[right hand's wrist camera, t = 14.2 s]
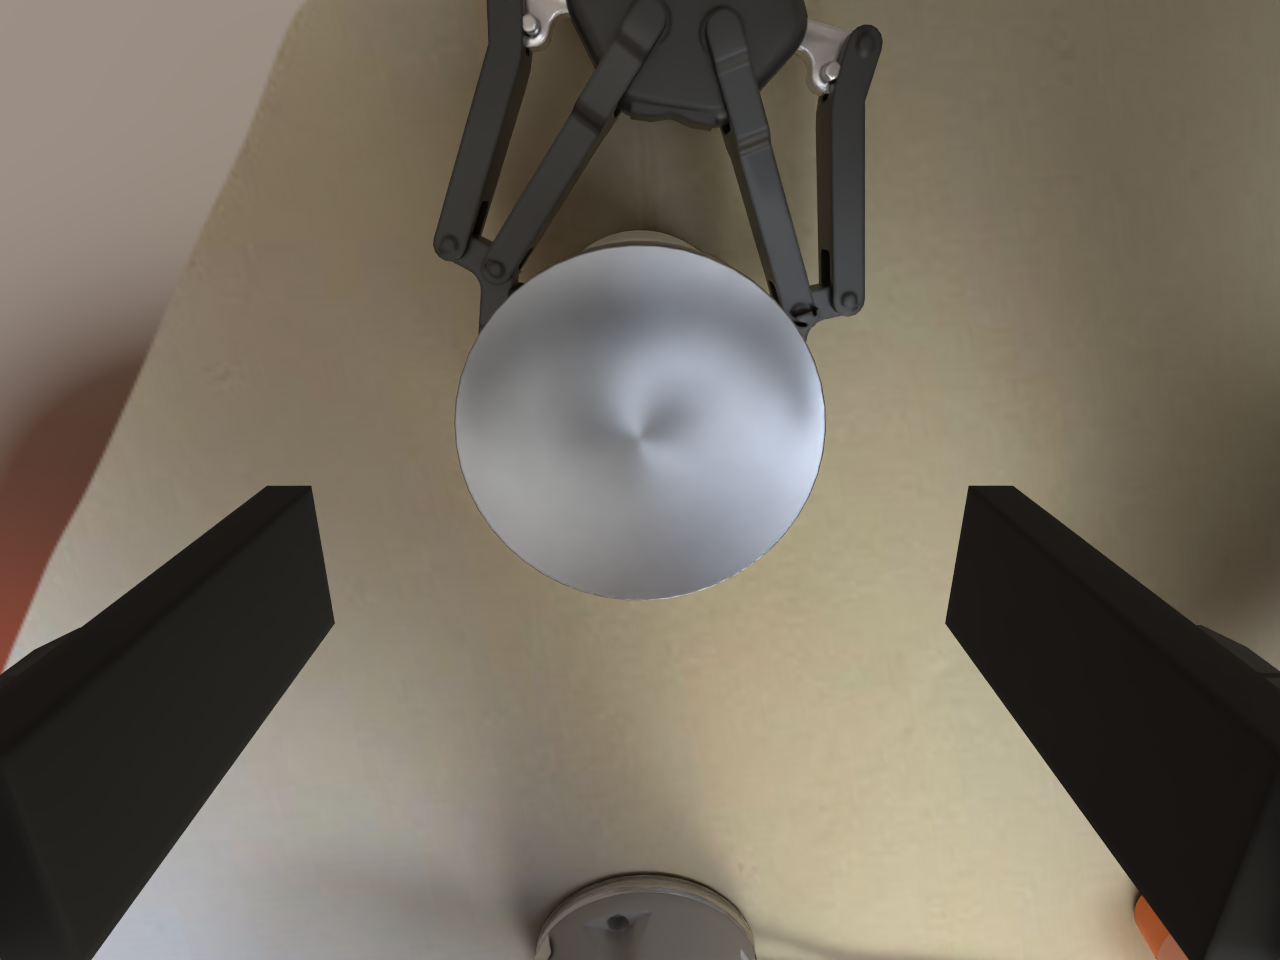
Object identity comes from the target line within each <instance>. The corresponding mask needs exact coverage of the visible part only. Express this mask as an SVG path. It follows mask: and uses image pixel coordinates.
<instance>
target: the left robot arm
mask: <svg viewBox="0 0 1280 960" xmlns="http://www.w3.org/2000/svg"><path fill="white" fill-rule="evenodd" d="M487 18H488V43H489V44H488V48H487V51H486V55H485V58H484V62H483V65H482V69H481V72H480V76H479V80H478V83H477V87H476V90H475V94H474V97H473V101H472V104H471V108H470V112H469V115H468V119H467V122H466V126H465V129H464V133H463V136H462V140H461V144H460V147H459V151H458V154H457V158H456V161H455V165H454V168H453V172H452V176H451V179H450V183H449V186H448V190H447V193H446V197H445V200H444V204H443V208H442V211H441V215H440V218H439V222H438V225H437V229H436V232H435V236H434V242H433V246H434V249H435V252H436V253H437V255H438V256H439V257H440V258H442V259H443V260H446V261H452V262H454V263H456V264H458V265H460V266H461V267H463V268H465V269H467V270H469V271H470V272H472V273H473V274H474V275H475V276H476V277H477V279H478V280H479V283H480V286H481V301H480V319H479V333H480V331H481V330H482V329H483V327H484V326H485V324H486V323H487V322H488V320H489V319H490V317H491V316H492V315H493V313H494V312H495V311H496V310H497V309H498V308H499V307H500V305H501V304H502V303H503V302H504V301H505V300H506V299H507V298H508V297H509V296H510V295H511V294H512V293H513V292H514V291H516V290H517V289H518V288H519V287H521V286H522V285H523V284H524V283H520V282H519V283H518V276H519V274H520V273H521V272H522V271H521V269H522V267H523V266H524V264H525V263H526V261H527V259H528V258H529V256H530V255H531V253H532V252H533V250H534V248H535V247H536V245H537V244H538V242H539V240H540V239H541V237H542V236H543V234H544V232H545V231H546V229H547V228H548V226H549V224H550V223H551V221H552V220H553V218H554V216H555V215H556V213H557V212H558V210H559V208H560V207H561V205H562V204H563V202H564V201H565V199H566V197H567V196H568V194H569V193H570V191H571V189H572V188H573V186H574V185H575V183H576V181H577V180H578V178H579V177H580V175H581V173H582V172H583V170H584V169H585V167H586V165H587V164H588V162H589V161H590V159H591V157H592V156H593V154H594V153H595V151H596V150H597V148H598V146H599V145H600V143H601V142H602V140H603V139H604V137H605V136H606V135H607V134H608V132H609V131H610V129H611V128H612V126H613V124H614V123H615V121H616V120H617V118H618V116H619V115H620V113H621V112H623V113H625V114H626V115H628V116H630V118H631V119H634V120H641V121H648V122H653V121H660V120H667V119H673V120H675V121H677V122H679V123H681V124H683V125H686V126H688V127H690V128H694V129H701V130H708V131H711V130H712V129H713V128H718V127H720V129H721V132H722V135H723V139H724V142H725V146H726V149H727V151H728V154H729V156H730V158H731V161H732V164H733V167H734V171H735V174H736V178H737V181H738V184H739V188H740V191H741V195H742V198H743V202H744V205H745V208H746V212H747V215H748V219H749V222H750V226H751V229H752V232H753V236H754V239H755V243H756V246H757V250H758V253H759V256H760V260H761V263H762V267H763V270H764V274H765V277H766V280H767V284H768V287H769V291H770V294H771V297H773V298H774V299H775V300H776V302H777V303H778V304H779V305H780V306H781V307H782V308H783V310H784V311H785V312H786V313H787V314H788V315H789V316H790V318H791V319H792V321H793V322H794V324H795V325H796V327H797V328H798V330H799V331H800V333H801V334H802V336H803V338H804V339H805V341H806V339H807V335H808V332H809V330H810V329H811V327H813V326H814V325H815V324H816V323H817V322H819V321H821V320H824V319H828V318H833V317H837V316H842V315H843V316H852V315H855V314H856V313H858V312H859V311H860V310H861V308H862V307H863V305H864V300H865V100H866V96H867V93H868V90H869V87H870V84H871V81H872V78H873V74H874V71H875V68H876V65H877V62H878V59H879V55H880V52H881V49H882V42H883V41H882V37H881V33H880V32H879V31H878V29H877V28H875V27H874V26H872V25H862V26H860V27H857V28H856V29H855V30H854V31H849V30H846V29H842V28H839V27H835V26H832V25H829V24H825V23H822V22H818V21H815V20H811V19H808V17H807V10H806V7H805V4H804V0H487ZM565 19H571V20H572V22H573V24H574V26H575V28H576V31H577V33H578V35H579V37H580V39H581V41H582V43H583V45H584V47H585V49H586V51H587V53H588V55H589V57H590V59H591V61H592V63H593V65H594V67H595V71H594V73H593V74H592V76H591V78H590V79H589V81H588V83H587V84H586V86H585V88H584V89H583V91H582V93H581V94H580V96H579V98H578V99H577V101H576V103H575V105H574V108H573V110H572V112H571V114H570V116H569V118H568V119H567V121H566V123H565V124H564V126H563V128H562V129H561V131H560V133H559V134H558V136H557V137H556V139H555V141H554V142H553V144H552V146H551V147H550V149H549V151H548V152H547V154H546V156H545V157H544V159H543V161H542V162H541V164H540V166H539V167H538V169H537V170H536V172H535V174H534V175H533V177H532V179H531V180H530V182H529V184H528V185H527V187H526V189H525V190H524V192H523V194H522V195H521V197H520V198H519V200H518V202H517V203H516V205H515V207H514V208H513V210H512V212H511V213H510V215H509V217H508V218H507V220H506V222H505V223H504V225H503V227H502V228H501V230H500V231H499V233H498V235H497V236H496V238H495V240H494V241H493V242H492V241H490V240H488V239H486V238H484V237H482V236H481V235H482V231H483V228H484V225H485V222H486V218H487V215H488V212H489V208H490V205H491V202H492V198H493V195H494V192H495V188H496V185H497V182H498V179H499V175H500V172H501V169H502V165H503V162H504V159H505V155H506V152H507V149H508V146H509V142H510V139H511V136H512V132H513V129H514V126H515V122H516V119H517V116H518V112H519V109H520V106H521V103H522V99H523V96H524V93H525V89H526V86H527V82H528V78H529V74H530V70H531V62H532V52H539V51H542V50H544V49H545V48H546V47H547V46H548V45H549V43H550V41H551V37H552V33H553V30H554V28H555V26H556V25H557V24H558V23H559V22H560V21H562V20H565ZM793 54H795V55H797V56H799V57H800V58H801V59H802V60H803V61H804V63H805V65H806V69H807V74H806V82H807V86H808V88H809V90H810V91H811V92H812V93H813V94H815V95H818V96H819V99H818V105H817V112H816V161H817V209H818V257H819V284H815V285H811V286H810V285H809V282H808V278H807V274H806V271H805V267H804V263H803V260H802V256H801V252H800V249H799V245H798V241H797V238H796V234H795V230H794V227H793V223H792V219H791V216H790V212H789V208H788V205H787V201H786V197H785V194H784V190H783V186H782V183H781V179H780V175H779V172H778V168H777V164H776V161H775V157H774V153H773V150H772V146H771V140H770V129H769V125H768V121H767V118H766V114H765V110H764V107H763V103H762V99H761V96H760V91H761V90H762V89H763V88H764V86H765V85H766V84H767V83H768V82H769V81H770V80H771V79H772V78H773V76H774V75H775V74H776V73H777V72H778V71H779V70H780V69H781V68H782V66H783V65H784V64H785V63H786V62H787V61H788V60H789V59H790V58H791V56H792V55H793Z"/></svg>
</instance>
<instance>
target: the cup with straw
mask: <svg viewBox="0 0 1280 960" xmlns="http://www.w3.org/2000/svg"><path fill="white" fill-rule="evenodd" d="M1134 915H1135V920H1136V923H1137V925H1138V927H1139V929H1140V931H1141V933H1142V935H1143V936H1144V938H1145V940H1146V942H1147V943H1148V945H1149V947H1150V949H1151V950H1152V952H1153V954H1154V956H1155V957H1156V959H1157V960H1189V959H1188V958H1187V957H1186V955H1185V954H1184V952H1183V951H1182V950H1181V948H1180V947H1179V946H1178V944H1177V943H1176V941H1175V940H1174V939H1173V937H1172V936H1171V935H1170V933H1169V932H1168V930H1167V929H1166V928H1165V926H1164V925H1163V923H1162V922H1161V921H1160V919H1159V918H1158V917H1157V915H1156V914H1155V912H1154V911H1153V910H1152V908H1151V907H1150V906H1149V904H1148V903H1147V901H1146V900H1145V899H1144V897H1143V896H1142V895H1141V897H1140V898H1139V900H1138V902H1137V904H1136V907H1135V912H1134ZM1279 960H1280V959H1279Z"/></svg>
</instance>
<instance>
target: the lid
mask: <svg viewBox="0 0 1280 960" xmlns="http://www.w3.org/2000/svg"><path fill="white" fill-rule="evenodd" d="M825 432H826V421H825V402H824V396H823V390H822V384H821V380H820V377H819V374H818V371H817V367H816V364H815V361H814V359H813V356H812V354H811V352H810V350H809V348H808V346H807V344H806V341H805V339H804V338H803V336H802V334H801V333H800V331H799V330H798V328H797V327H796V325H795V324H794V322H793V321H792V319H791V318H790V316H789V315H788V314H787V313H786V312H785V311H784V310H783V308H782V307H781V306H780V305H779V304H778V303H777V302H776V300H775V299H774V298H773V297H771V296H770V295H769V294H768V293H767V292H766V291H765V290H763V289H762V288H761V287H760V286H759V285H758V284H756V283H755V282H754V281H753V280H751V279H750V278H748V277H747V276H745V275H744V274H742V273H741V272H739V271H738V270H736V269H735V268H733V267H732V266H730V265H728V264H727V263H725V262H723V261H721V260H719V259H717V258H715V257H713V256H711V255H708V254H706V253H704V252H701V251H698V250H695V249H692V248H688V247H685V246H682V245H677V244H671V243H665V242H659V241H624V242H615V243H607V244H604V245H600V246H596V247H592V248H588V249H584V250H582V251H580V252H577V253H575V254H572V255H570V256H567V257H565V258H563V259H561V260H559V261H557V262H556V263H554V264H552V265H551V266H549V267H547V268H545V269H544V270H542V271H541V272H539V273H538V274H536V275H535V276H533V277H532V278H531V279H530V280H528V281H527V282H526V283H524V284H523V285H522V286H521V287H519V288H518V289H517V290H516V291H514V292H513V293H512V294H511V295H510V296H509V297H508V298H507V299H506V300H505V301H504V302H503V303H502V304H501V305H500V307H499V308H498V309H497V310H496V311H495V312H494V313H493V315H492V316H491V317H490V319H489V320H488V322H487V323H486V324H485V326H484V327H483V329H482V330H481V331H480V333H479V335H478V337H477V339H476V341H475V343H474V345H473V347H472V348H471V350H470V352H469V355H468V357H467V360H466V363H465V366H464V369H463V371H462V374H461V378H460V383H459V387H458V392H457V397H456V408H455V437H456V448H457V452H458V457H459V462H460V467H461V470H462V473H463V476H464V479H465V482H466V484H467V487H468V490H469V492H470V494H471V496H472V498H473V500H474V502H475V504H476V506H477V508H478V510H479V511H480V513H481V514H482V516H483V517H484V519H485V520H486V522H487V523H488V525H489V526H490V527H491V529H492V530H493V531H494V532H495V533H496V535H497V536H498V537H499V538H500V539H501V540H502V541H503V542H504V544H505V545H506V546H507V547H508V548H509V549H511V550H512V551H513V552H514V553H515V554H516V555H517V556H519V557H520V558H521V559H522V560H523V561H524V562H526V563H527V564H529V565H530V566H532V567H533V568H535V569H536V570H538V571H539V572H541V573H542V574H544V575H546V576H548V577H550V578H552V579H554V580H555V581H557V582H559V583H561V584H564V585H566V586H569V587H572V588H574V589H577V590H579V591H582V592H586V593H590V594H594V595H598V596H602V597H608V598H615V599H623V600H656V599H666V598H673V597H678V596H682V595H687V594H692V593H694V592H697V591H700V590H703V589H706V588H709V587H712V586H714V585H716V584H719V583H721V582H723V581H725V580H727V579H729V578H731V577H733V576H735V575H736V574H738V573H739V572H741V571H743V570H744V569H746V568H747V567H749V566H750V565H752V564H753V563H754V562H756V561H757V560H758V559H759V558H761V557H762V556H763V555H764V554H765V553H767V552H768V551H769V550H770V549H771V548H772V547H773V546H774V545H775V544H776V543H777V542H778V541H779V540H780V539H781V537H782V536H783V535H784V534H785V533H786V532H787V530H788V529H789V528H790V526H791V525H792V524H793V522H794V521H795V519H796V518H797V517H798V515H799V513H800V512H801V510H802V508H803V506H804V504H805V503H806V501H807V499H808V497H809V495H810V493H811V490H812V488H813V485H814V483H815V480H816V478H817V475H818V471H819V467H820V463H821V459H822V455H823V449H824V441H825Z"/></svg>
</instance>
